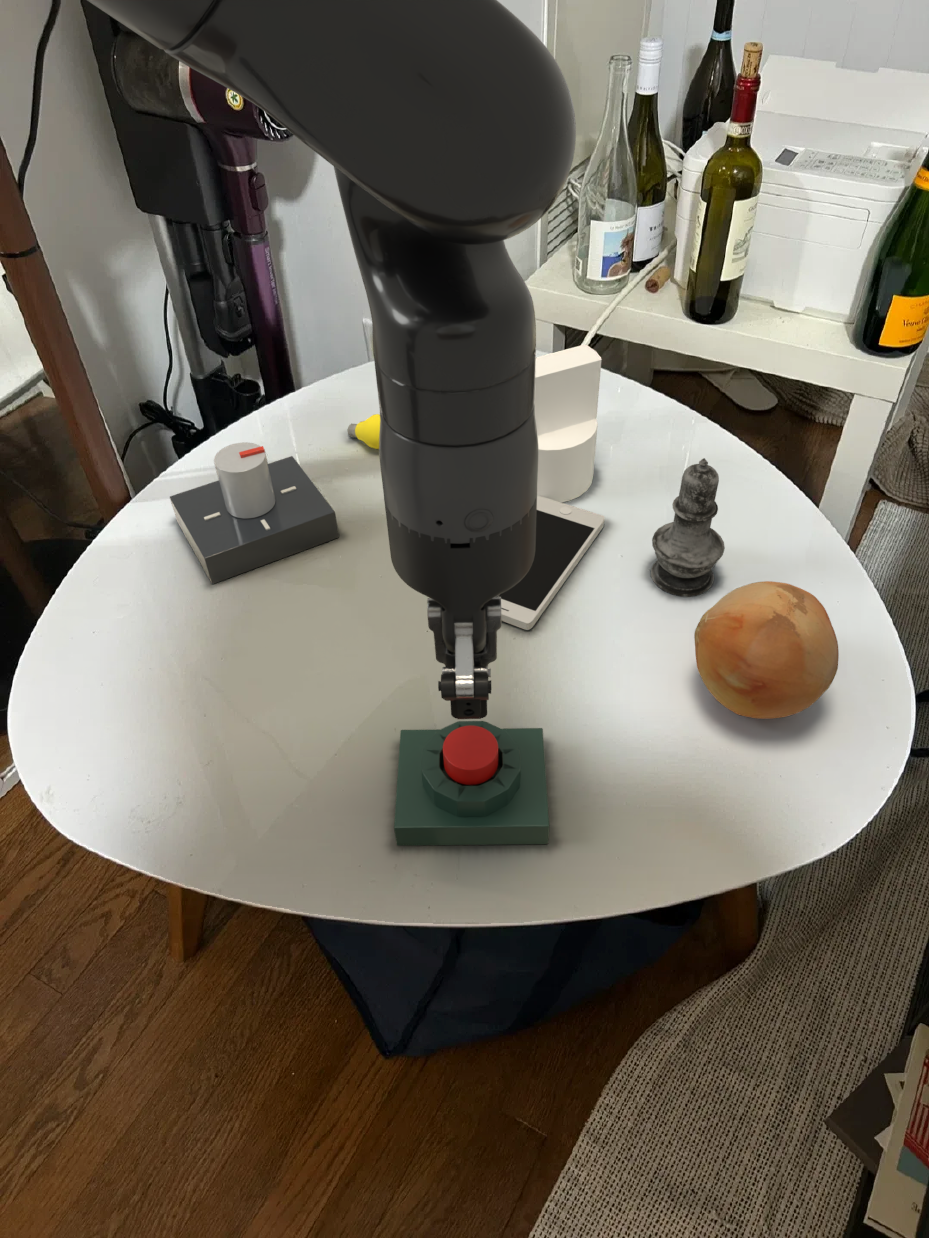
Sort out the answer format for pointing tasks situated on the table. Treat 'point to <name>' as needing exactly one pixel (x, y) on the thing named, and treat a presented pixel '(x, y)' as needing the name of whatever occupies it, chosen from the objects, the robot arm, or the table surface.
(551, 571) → the smartphone
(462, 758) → the stop button
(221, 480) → the rotary knob
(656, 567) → the grey chess piece
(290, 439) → the table surface
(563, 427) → the base with upright slab
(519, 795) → the button block
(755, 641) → the onion
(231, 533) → the dark grey flat block
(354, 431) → the light bulb
